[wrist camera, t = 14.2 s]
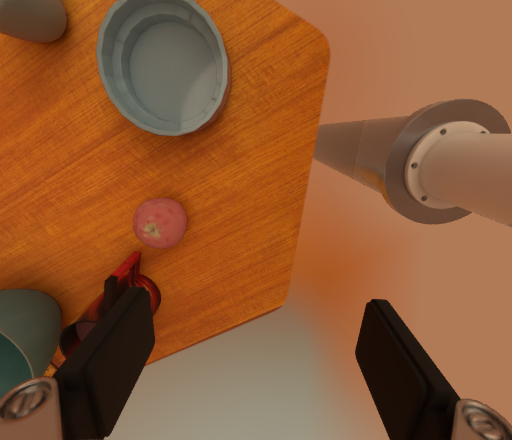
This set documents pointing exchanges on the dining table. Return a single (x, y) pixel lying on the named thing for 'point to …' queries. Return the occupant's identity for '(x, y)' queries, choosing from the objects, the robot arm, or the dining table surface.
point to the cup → (33, 19)
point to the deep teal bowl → (26, 335)
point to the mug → (107, 303)
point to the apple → (160, 222)
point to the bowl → (164, 65)
